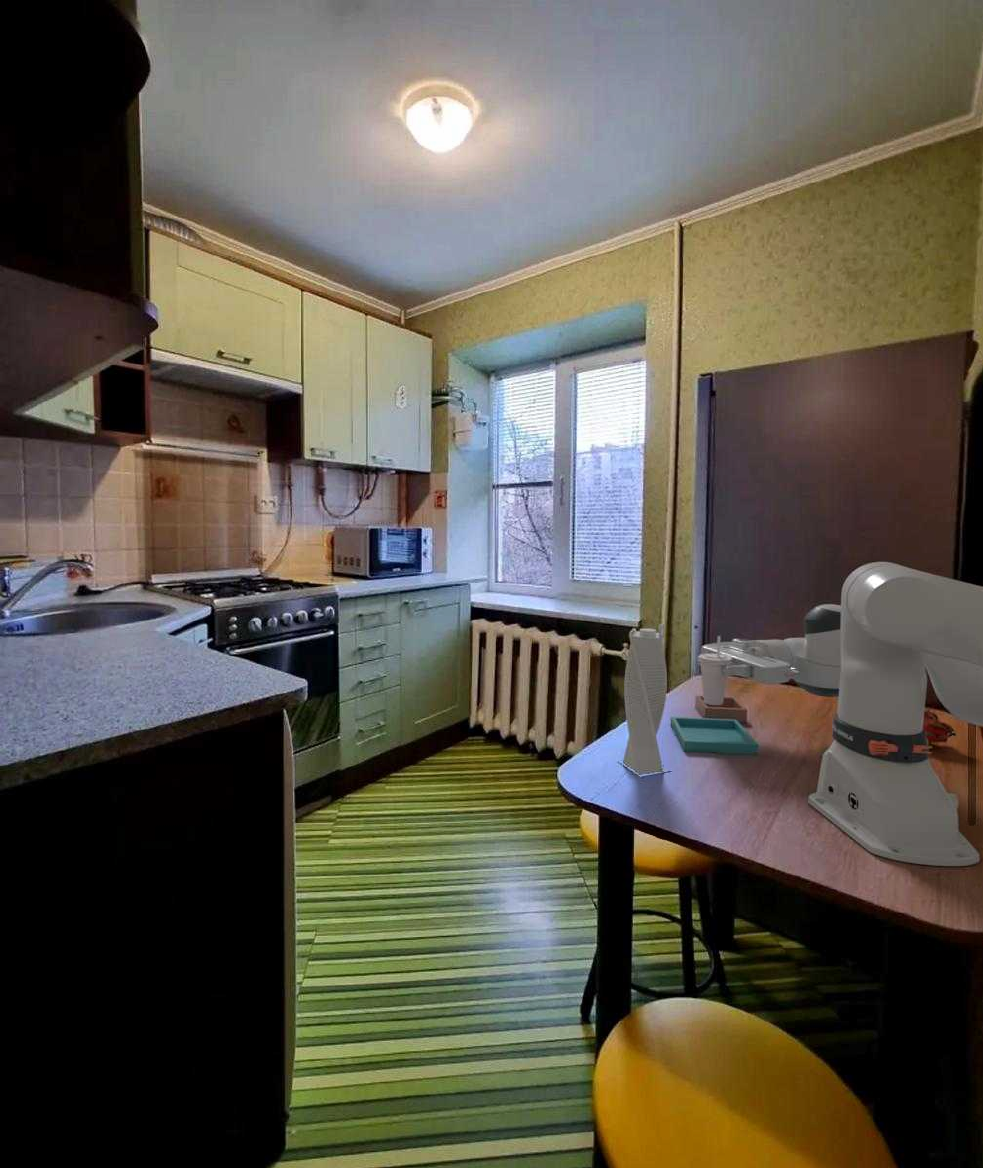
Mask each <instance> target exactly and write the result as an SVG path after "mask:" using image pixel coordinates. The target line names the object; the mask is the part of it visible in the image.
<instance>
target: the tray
mask: <svg viewBox="0 0 983 1168" xmlns="http://www.w3.org/2000/svg"><path fill="white" fill-rule="evenodd" d="M670 729H672V731H673V730H674V732H675V734H676V735H675V734H674V735H675V737H676V736H677V737H676V739H677V738H678V739H677V741H678V740H679V741H678V743H679V742H680V743H679V745H680V744H681V745H680V746H682V747H681V749H682V748H683V749H682V750H684V751H683V752H688V751H696V752H695V753H707V752H714V753H713V754H726V755H727V754H731V755H745V756H746V755H748V756H749V755H750V756H758V755H759V744H758V742H757V741H756V740H755V739H754V738H753V737H752V736H751V734H749V732H748V731H747V730H746V729H745V728H744V726H743V725H742V724H741V722H738V721H737V720H732V719H710V718H702V717H682V716H670ZM674 732H673V733H674ZM715 752H716V753H715Z"/></svg>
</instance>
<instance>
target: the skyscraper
mask: <svg viewBox="0 0 983 1168" xmlns="http://www.w3.org/2000/svg"><path fill="white" fill-rule="evenodd" d="M665 634H666V629H665V624H664V623H662V622H660V624H659V626H658V632H657V630H656V629H654V628H649V627H648V628H640V629H639V630H638V631H637V629H636V628H635V627H633V628H632V629H631V630H630V631H629V633H628V638H629V641H630V645H629V647H628V648H629V649H628V652H627V653H628V654H627V659H626V665H625V672H624V682H623V683H624V684H623V686H624V688H623V690H624V692H623V696H624V708H625V709H624V710H625V717H626V719H625V720H626V725H627V729H628V730H627V731H628V735H629V736H628V740H627V743H626V747H625V752H624V757H623V759H622V760H623V764H625V765H626V766H627V767H630V768H631V769H633V770H634V771H635V772H636V773H638V775H642V774H650V773H655V772H663V768H662V765H663V764H662V759H661V754H660V748H659V743H658V739H657V735H658V731H659V729H660V726H661V722H662V719H663V714H664V711H665V706H666V699H667V690H668V676H667V675H668V674H667V663H666V657H665V651H664V650H665V649H664V644H663V639H664V637H665ZM664 766H665V765H663V767H664Z"/></svg>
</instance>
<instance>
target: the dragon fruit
mask: <svg viewBox="0 0 983 1168" xmlns="http://www.w3.org/2000/svg"><path fill="white" fill-rule="evenodd" d="M923 728H924V730H925V732H926V737H927V739H928V744H929V745H928V746H932V748H931V749H935V748H936V749H937V748H939V746H938V745H932V744H931V743H935V744H936V743H947V742H948V738H950V737H952V736H953V737H956V735H957V733H956V732H955V729H954V728H953V727H952V726H951V725H950V724H948V723H946V722H945V721H940V720H939V717H938V715H937V714H936V713H935V712H933V711H932V712H931V710H930V709H928V708H927V709H924V720H923Z"/></svg>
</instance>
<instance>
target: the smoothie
mask: <svg viewBox="0 0 983 1168" xmlns="http://www.w3.org/2000/svg"><path fill="white" fill-rule="evenodd" d="M721 637H722V636H721V635H717V640H716V641H717V642H716V643H717V654H713V653H706V654H701V653H700V654H699V656H698V657H699V661H700V662H701V665H700V671H701V685H702V696H703V698H704V702H705V703H707V704H711V705H721V704H723V699H724V697H725V693H726V687H727V683H728V677H729V676H728V675H725V674H723V673H722V666H723V665H730V664H732V658H731V657H729V656H726V655H722V654H720V642H721Z"/></svg>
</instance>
